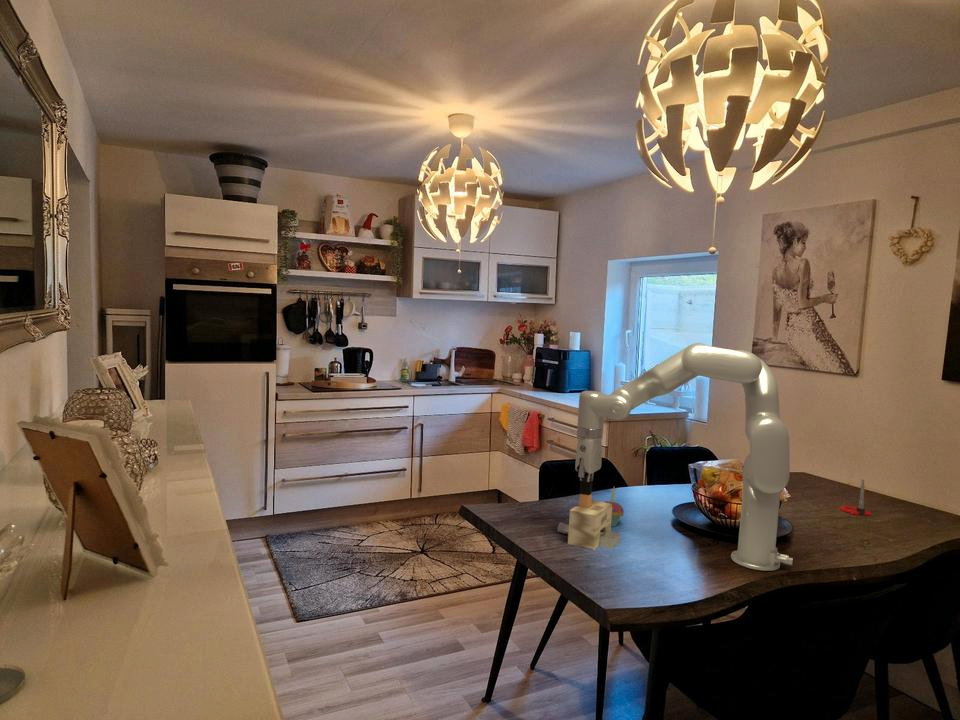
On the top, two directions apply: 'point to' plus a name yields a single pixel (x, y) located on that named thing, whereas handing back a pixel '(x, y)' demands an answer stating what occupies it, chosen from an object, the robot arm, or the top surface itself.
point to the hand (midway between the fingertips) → (585, 493)
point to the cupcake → (615, 510)
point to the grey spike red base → (861, 504)
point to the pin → (606, 538)
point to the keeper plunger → (585, 500)
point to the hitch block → (589, 524)
